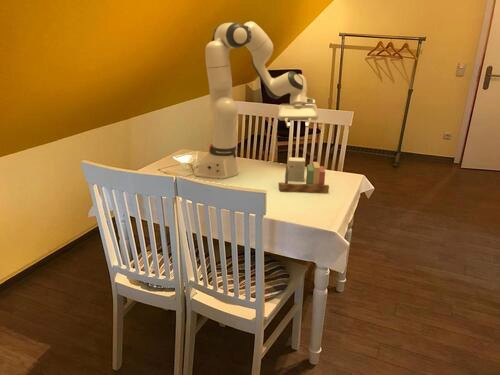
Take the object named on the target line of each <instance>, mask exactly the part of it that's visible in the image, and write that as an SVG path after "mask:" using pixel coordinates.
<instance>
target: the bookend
mask: <svg viewBox="0 0 500 375" xmlns="http://www.w3.org/2000/svg"><path fill="white" fill-rule="evenodd" d="M280 183H281V182H278V191H280ZM284 183H289V181H288V165H285V174H284Z"/></svg>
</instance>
